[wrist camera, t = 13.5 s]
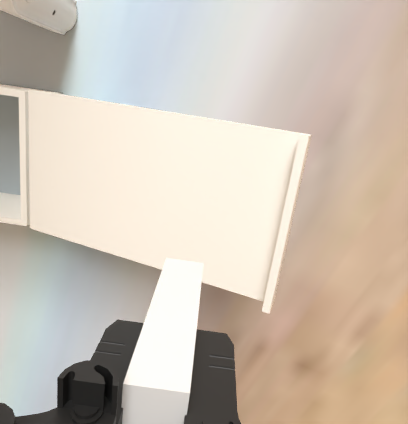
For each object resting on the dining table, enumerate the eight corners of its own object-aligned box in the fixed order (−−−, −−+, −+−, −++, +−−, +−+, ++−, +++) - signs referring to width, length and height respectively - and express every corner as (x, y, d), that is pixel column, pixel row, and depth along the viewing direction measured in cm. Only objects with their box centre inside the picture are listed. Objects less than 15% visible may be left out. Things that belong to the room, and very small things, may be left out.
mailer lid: (309, 136, 23) (311, 134, 25) (14, 87, 31) (33, 89, 32) (269, 313, 27) (274, 301, 29) (17, 232, 35) (34, 226, 36)
